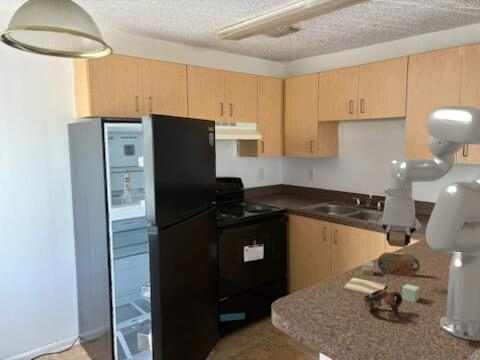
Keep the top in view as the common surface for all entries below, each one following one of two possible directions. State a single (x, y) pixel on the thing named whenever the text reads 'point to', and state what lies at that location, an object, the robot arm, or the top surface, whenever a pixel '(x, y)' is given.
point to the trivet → (363, 286)
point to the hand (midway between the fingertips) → (398, 243)
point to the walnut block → (397, 238)
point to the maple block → (368, 268)
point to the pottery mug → (388, 300)
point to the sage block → (410, 293)
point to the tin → (398, 263)
